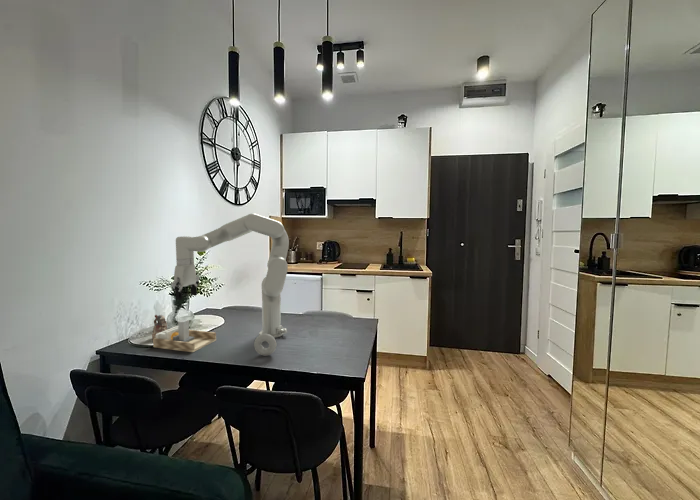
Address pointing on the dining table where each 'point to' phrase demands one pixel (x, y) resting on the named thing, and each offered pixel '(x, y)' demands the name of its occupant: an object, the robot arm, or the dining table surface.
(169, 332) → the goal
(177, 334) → the ball
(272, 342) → the donut
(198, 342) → the wooden tray
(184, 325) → the striker
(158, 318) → the figurine
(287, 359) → the dining table surface
